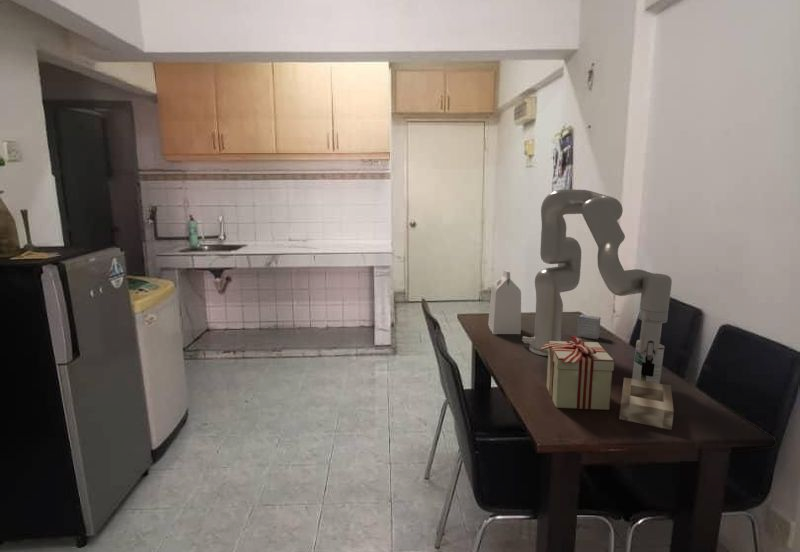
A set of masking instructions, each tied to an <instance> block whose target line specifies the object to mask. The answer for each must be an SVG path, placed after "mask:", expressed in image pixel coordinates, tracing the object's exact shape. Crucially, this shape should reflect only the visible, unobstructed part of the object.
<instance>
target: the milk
mask: <svg viewBox="0 0 800 552" xmlns="http://www.w3.org/2000/svg"><path fill="white" fill-rule="evenodd" d="M487 325H488V326H489V327H488V326H487V327H488V328H489V330H490V332H491V331H492V332H491V333H492V335H497V334H522V333H521V332H522V291H521V289H520V288H519V286H518V285H517V284H516V283H515V282H514V281H513V280H511V271H510V270H509V269H503V273H502V276H501V277H499V278H498V279H497V280H496V281H495V282H493V284H492V285H491V289H490V301H489V310H488V323H487Z"/></svg>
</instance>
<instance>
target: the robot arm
mask: <svg viewBox="0 0 800 552" xmlns="http://www.w3.org/2000/svg"><path fill="white" fill-rule="evenodd" d="M623 209H624V208H623V206H622V203H621V202H620V201H619V200H618V199H617V198H616V197H613V196H609V195H605V194H602V193H599V192H595V191H593V190H592V191H591V190H587V189H572V188H571V189H570V188H569V189H565V188H564V189H558V190H557V189H556V190H554V191H552V192H550V193H549V194H547V195H546V196H545V197H544V199H543V201H542V204H541V207H540V217H541V218H540V219H541V220H540V221H541V232H540V248H539V249H540V252H539V253H540V259H541V261H542V262H543V263H545V264H548V265H557V266H555V267H554V266H552V267H545V268H543V269H541V270H540V271H538V272H537V273H536V275H535V277H534V288H535V317H534V332H533V334H534V335H533V336H531V337H529V336H524V335H523V336H522V339H521V341H522V342H523V343H524V344H529V346H528V350H529V351H530V352H531V353H533V354H535V355H538V356H544V357H548V351H547V349H544V350H539V349H541V348H542V347H543V346H544V345H545V344H546V343H548V341H562V340H561V338H562V337H561V336H562V327H563V325H562V324H563V313H564V312H563V311H564V303H563V300H562V296H561V293H566V292H570V291H573V290H575V289H576V288H577V287H578V285H579V284H580V278H581V268H582V267H581V266H582V265H581V264H582V248H581V245H580V243H579V241H578V240H577V239H576V238H574V237H571V236H567V223H566V220H565V218H564V215H582V217H583V219H584V221H585V224H586V225H587V227H588V229H589V231H590V233H591V235H592V237H593V239H594V242H595V243H596V246H597V248H598V250H597V268H598V272H599V274H600V276H601V278H602V281H603V282H604V284H605V285H606V287H607V289H608V290H609V291H610V292H611V294H613V295H615V296H617V297H624V296H630V295H636V294H640V303H639V312H638V319H639V320H640V321H641V326H640V333H639V340H640V343H639V352H640V353H641V352H642V353H644V360H643V362H642V370H641V375H645V376H651V377H653V374H654V365H655V364H654V356H655V355H657V353H658V348H659V344H661V336H662V326H663V324H665V323H667V322H668V315H669V309H670V301H671V290H672V277H671V276H670V275H667V274H662V273H656V272H655V273H654V272H650V271H646V270H644V269H640V268H635V269H627V270H625V269H624V267H623V265H622V264H621V261H620V258H619V248H620V246H621V244H622V243H624V240H625V239H626V235H625V233H624V231H623V229H622V227H621V225H620V223H619V222H618V220H620V218H621V217H622V215H623ZM647 347H648V352H646V348H647ZM652 352H653V353H652ZM646 355H647V356H646Z"/></svg>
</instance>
